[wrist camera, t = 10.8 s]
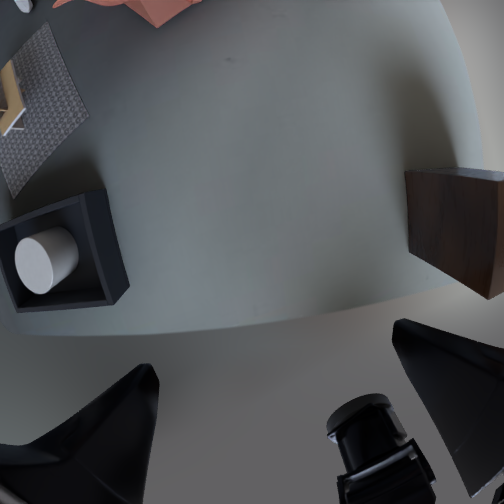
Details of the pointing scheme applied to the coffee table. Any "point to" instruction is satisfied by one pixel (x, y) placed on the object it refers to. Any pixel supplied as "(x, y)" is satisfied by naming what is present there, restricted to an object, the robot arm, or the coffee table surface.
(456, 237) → the stand
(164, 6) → the teapot
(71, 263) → the white cylinder
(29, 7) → the pen
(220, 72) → the coffee table surface
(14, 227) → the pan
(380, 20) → the coffee table surface
